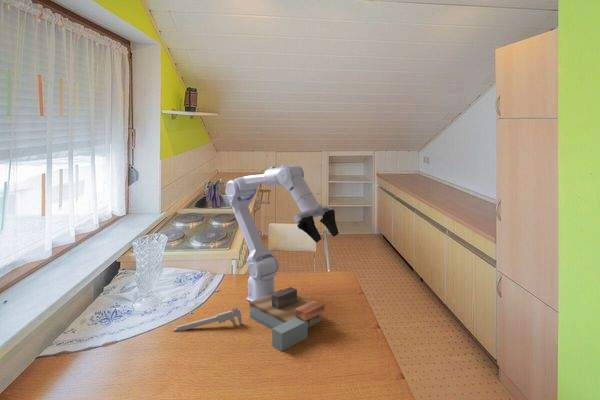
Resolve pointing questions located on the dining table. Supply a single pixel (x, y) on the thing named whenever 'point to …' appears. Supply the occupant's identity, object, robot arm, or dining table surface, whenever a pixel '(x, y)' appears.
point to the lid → (281, 304)
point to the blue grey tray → (283, 329)
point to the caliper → (213, 320)
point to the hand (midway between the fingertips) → (327, 237)
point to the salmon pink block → (309, 310)
